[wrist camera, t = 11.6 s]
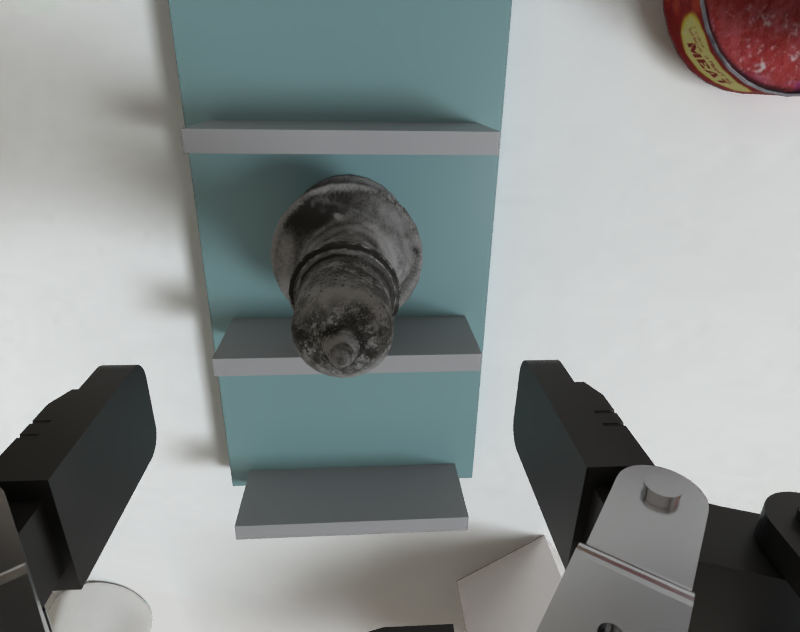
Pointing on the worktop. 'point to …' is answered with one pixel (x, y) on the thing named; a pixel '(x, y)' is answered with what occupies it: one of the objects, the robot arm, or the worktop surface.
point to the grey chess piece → (345, 272)
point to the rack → (289, 179)
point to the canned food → (739, 43)
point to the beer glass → (100, 610)
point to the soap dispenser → (512, 590)
